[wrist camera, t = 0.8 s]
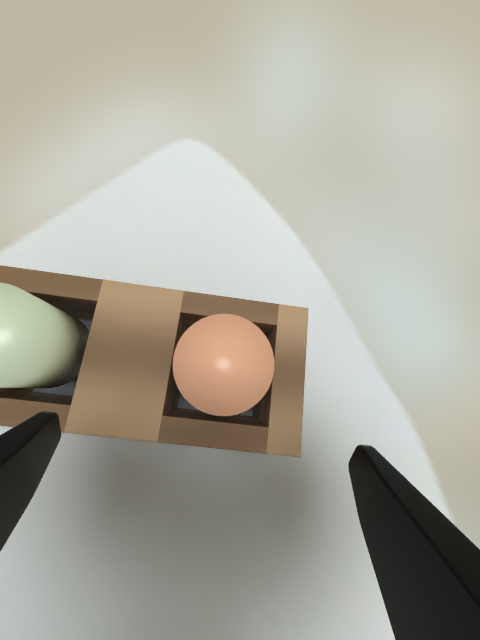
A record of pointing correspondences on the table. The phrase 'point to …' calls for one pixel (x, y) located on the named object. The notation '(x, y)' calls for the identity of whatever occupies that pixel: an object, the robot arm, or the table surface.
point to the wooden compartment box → (160, 366)
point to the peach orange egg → (223, 364)
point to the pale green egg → (37, 341)
